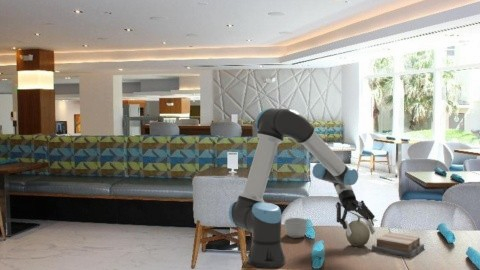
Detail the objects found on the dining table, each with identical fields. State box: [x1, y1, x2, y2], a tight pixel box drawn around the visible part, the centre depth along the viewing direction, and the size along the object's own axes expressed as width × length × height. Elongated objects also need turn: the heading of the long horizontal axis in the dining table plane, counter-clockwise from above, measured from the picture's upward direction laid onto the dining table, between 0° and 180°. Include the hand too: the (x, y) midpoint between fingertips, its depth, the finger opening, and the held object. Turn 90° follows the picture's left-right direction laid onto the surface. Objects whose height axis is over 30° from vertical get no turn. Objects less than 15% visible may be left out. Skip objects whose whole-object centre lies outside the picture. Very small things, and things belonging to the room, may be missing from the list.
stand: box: [371, 232, 425, 258], centre depth 219 cm, size 17×17×5 cm
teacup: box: [283, 217, 308, 239], centre depth 242 cm, size 14×11×8 cm
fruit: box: [345, 211, 372, 248], centre depth 224 cm, size 10×12×15 cm
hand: (361, 233), depth 222 cm, fingers open, 11 cm apart
